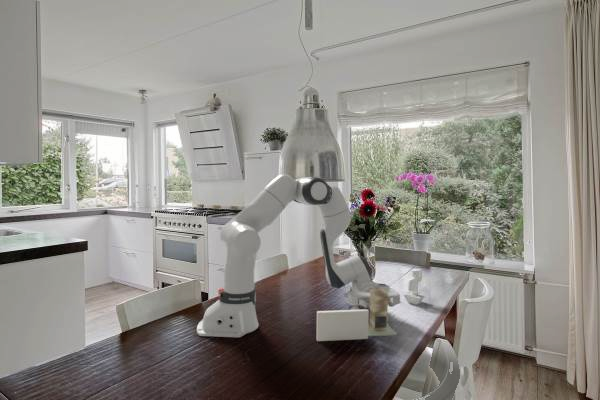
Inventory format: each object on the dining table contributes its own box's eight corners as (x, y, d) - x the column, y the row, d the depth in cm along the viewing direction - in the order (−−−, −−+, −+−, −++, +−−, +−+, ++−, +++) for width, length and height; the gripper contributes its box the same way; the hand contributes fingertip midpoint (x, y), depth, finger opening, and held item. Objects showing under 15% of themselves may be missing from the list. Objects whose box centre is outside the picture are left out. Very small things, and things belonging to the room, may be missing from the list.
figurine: (402, 303, 161) (402, 270, 160) (411, 298, 168) (412, 266, 166) (417, 307, 156) (418, 273, 155) (426, 301, 162) (427, 269, 161)
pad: (369, 336, 127) (369, 335, 127) (361, 324, 137) (361, 323, 137) (396, 335, 128) (396, 333, 128) (386, 323, 138) (386, 322, 138)
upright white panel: (317, 341, 123) (317, 312, 122) (316, 339, 125) (316, 311, 124) (368, 338, 125) (368, 310, 125) (366, 336, 127) (367, 309, 126)
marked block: (373, 331, 130) (374, 294, 129) (369, 325, 135) (370, 289, 134) (387, 331, 130) (388, 293, 129) (382, 325, 136) (383, 288, 135)
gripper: (342, 285, 143) (352, 297, 130) (392, 284, 146) (406, 295, 132) (342, 301, 144) (351, 314, 130) (391, 299, 146) (405, 312, 133)
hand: (379, 305), depth 131 cm, fingers open, 8 cm apart
